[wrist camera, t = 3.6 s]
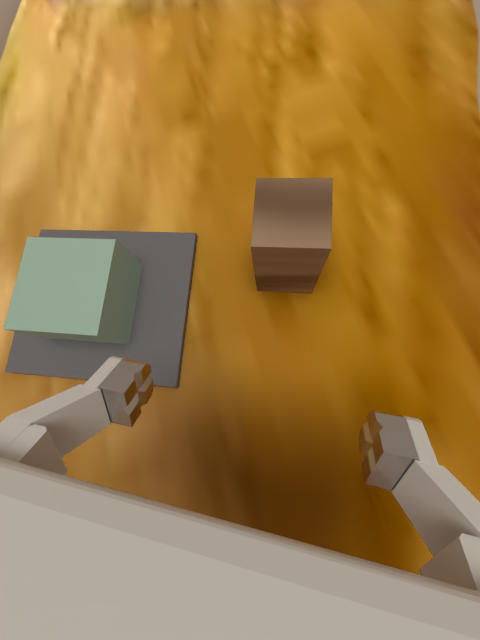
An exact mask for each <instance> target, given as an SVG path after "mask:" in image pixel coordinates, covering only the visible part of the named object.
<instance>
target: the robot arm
mask: <svg viewBox="0 0 480 640" xmlns="http://www.w3.org/2000/svg"><path fill="white" fill-rule="evenodd" d="M151 372H152V370H151V365H150V364H147V363H143V362H138V361H134V360H130V359H126V358H120V357H116V356H112V357H110V358H108V359H107V360H106V361H105V363H104V364H103V365H102V366H101V367H100V368H99V369H98V370H97V371H96V372H95V373H94V374H93V375H92V376H91V377H90V379H89V380H88V381H87V382H86V383H85V384H84V385H81V384H79V385H77V386H75V387H73V388H70V389H68V390H66V391H63V392H61V393H59V394H57V395H54V396H52V397H50V398H48V399H45V400H43V401H41V402H39V403H36V404H34V405H32V406H30V407H27V408H25V409H23V410H20V411H18V412H16V413H14V414H11V415H9V416H8V417H6V418H5V419H4V420H3V421H2V422H1V423H0V640H480V502H479V501H478V500H477V499H476V498H475V497H474V496H473V495H472V494H471V493H470V492H469V491H468V490H467V489H466V488H465V487H464V486H463V485H462V484H461V483H460V482H459V481H458V480H457V479H456V478H455V477H454V476H453V475H452V474H451V473H450V472H449V471H448V470H447V469H446V468H445V467H444V466H440V465H439V464H438V461H437V459H436V456H435V454H434V451H433V449H432V446H431V443H430V441H429V438H428V436H427V433H426V431H425V428H424V426H423V423H422V421H421V420H420V419H417V418H412V417H407V416H402V415H397V414H392V413H387V412H382V411H377V410H371V411H369V413H368V415H367V420H368V422H367V423H365V424H363V425H362V428H361V430H360V435H359V449H360V453H361V454H362V455H363V456H364V458H365V459H364V461H363V463H362V469H363V476H364V482H365V484H368V485H372V486H375V487H379V488H383V489H386V490H390V491H392V494H393V495H394V497H395V498H396V500H397V501H398V503H399V504H400V506H401V507H402V509H403V510H404V512H405V513H406V515H407V516H408V518H409V520H410V521H411V523H412V524H413V526H414V527H415V529H416V530H417V532H418V533H419V535H420V536H421V538H422V539H423V541H424V542H425V544H426V545H427V547H428V548H429V550H430V551H431V553H432V554H433V556H434V557H433V558H432V559H431V560H430V561H428V562H427V563H426V564H425V565H424V566H423V567H422V568H421V569H420V573H421V575H419V574H415V573H411V572H408V571H404V570H401V569H397V568H394V567H390V566H387V565H383V564H379V563H376V562H372V561H369V560H365V559H362V558H358V557H355V556H351V555H347V554H344V553H340V552H337V551H333V550H330V549H326V548H322V547H319V546H315V545H312V544H308V543H305V542H301V541H298V540H294V539H290V538H287V537H283V536H280V535H276V534H273V533H269V532H266V531H262V530H258V529H255V528H251V527H248V526H244V525H241V524H237V523H233V522H230V521H226V520H223V519H219V518H216V517H212V516H208V515H205V514H201V513H198V512H194V511H191V510H187V509H183V508H180V507H176V506H173V505H169V504H166V503H162V502H158V501H155V500H151V499H148V498H144V497H141V496H137V495H133V494H130V493H126V492H123V491H119V490H116V489H112V488H108V487H105V486H101V485H98V484H94V483H91V482H87V481H83V480H80V479H76V478H73V477H69V476H66V473H67V467H66V465H65V463H64V461H63V459H62V457H63V456H65V455H66V454H68V453H69V452H71V451H72V450H74V449H75V448H76V447H78V446H79V445H81V444H82V443H84V442H85V441H87V440H88V439H90V438H91V437H92V436H94V435H95V434H97V433H98V432H100V431H101V430H103V429H104V428H106V427H107V426H108V425H110V424H111V423H116V424H120V425H125V426H130V427H132V426H133V425H134V423H135V422H136V420H137V418H138V417H139V415H140V414H141V408H140V407H141V406H143V405H145V404H147V403H148V401H149V399H150V398H151V395H152V392H153V386H154V383H153V379H152V378H151V377H150V376H149V375H150V373H151Z"/></svg>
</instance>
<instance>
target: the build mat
mask: <svg viewBox="0 0 480 640" xmlns="http://www.w3.org/2000/svg"><path fill="white" fill-rule="evenodd" d="M39 237H48V238H87V239H116V240H117V241H118V242H119V243H120V244H121V245H122V246H123V247H125V248H126V249H127V250H128V251H129V252H130V253H131V254H132V255H133V256H134V257H135V258H136V259H138V260H139V261H140V262H141V263H142V270H141V276H140V282H139V288H138V294H137V301H136V307H135V313H134V319H133V325H132V331H131V337H130V343H129V344H118V343H104V342H91V341H77V340H63V339H51V338H46V337H41V336H36V335H31V334H26V333H21V332H16V331H15V334H14V338H13V342H12V346H11V350H10V354H9V358H8V362H7V366H6V370H5V372H11V373H22V374H33V375H44V376H55V377H66V378H77V379H88V380H89V379H90V377H91V376H92V375H93V374H94V373H95V372H96V371H97V370H98V369H99V368H100V367H101V366H102V365H103V364H104V363H105V361H106V360H107V359H108V358H110V357H112V356H116V357H120V358H126V359H130V360H134V361H138V362H143V363H147V364H150V365H151V370H152V372H151V373H150V375H149V376H150V377H151V378H152V379H153V383H154V386H164V387H175V388H177V387H178V385H179V377H180V369H181V361H182V353H183V345H184V337H185V329H186V321H187V314H188V306H189V298H190V290H191V282H192V274H193V266H194V258H195V250H196V242H197V235H196V233H172V232H127V231H82V230H41V231H40V235H39Z"/></svg>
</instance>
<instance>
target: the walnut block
mask: <svg viewBox="0 0 480 640" xmlns="http://www.w3.org/2000/svg"><path fill="white" fill-rule="evenodd" d="M332 186H333V178H256V188H255V201H254V213H253V225H252V237H251V252H252V258H253V265H254V272H255V278H256V285H257V291H271V292H292V293H312V291H313V288H314V286H315V284H316V282H317V279H318V277H319V275H320V273H321V271H322V268H323V266H324V264H325V262H326V260H327V257H328V255H329V253H330V251H331V243H332Z"/></svg>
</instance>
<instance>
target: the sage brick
mask: <svg viewBox="0 0 480 640" xmlns="http://www.w3.org/2000/svg"><path fill="white" fill-rule="evenodd" d="M141 270H142V263H141V262H140V261H139V260H138V259H136V258H135V257H134V256H133V255H132V254H131V253H130V252H129V251H128V250H127V249H126V248H125V247H123V246H122V245H121V244H120V243H119V242H118V241H117V240H116V239H87V238H48V237H27V241H26V245H25V249H24V253H23V256H22V260H21V264H20V268H19V272H18V276H17V279H16V283H15V287H14V291H13V295H12V298H11V302H10V306H9V310H8V314H7V318H6V321H5V325H4V329H6V330H11V331H16V332H21V333H26V334H31V335H36V336H41V337H46V338H51V339H63V340H77V341H91V342H104V343H118V344H129V343H130V337H131V331H132V325H133V319H134V313H135V307H136V301H137V294H138V288H139V282H140V276H141Z"/></svg>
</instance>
